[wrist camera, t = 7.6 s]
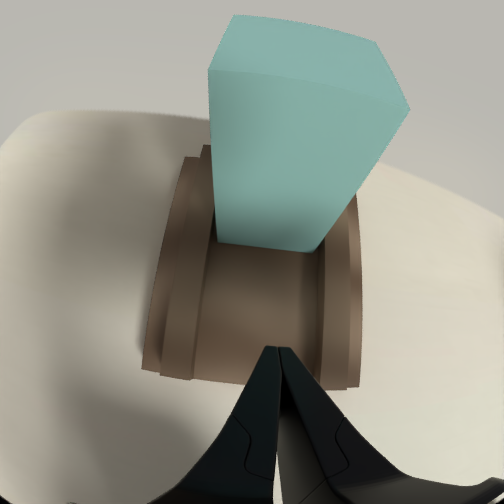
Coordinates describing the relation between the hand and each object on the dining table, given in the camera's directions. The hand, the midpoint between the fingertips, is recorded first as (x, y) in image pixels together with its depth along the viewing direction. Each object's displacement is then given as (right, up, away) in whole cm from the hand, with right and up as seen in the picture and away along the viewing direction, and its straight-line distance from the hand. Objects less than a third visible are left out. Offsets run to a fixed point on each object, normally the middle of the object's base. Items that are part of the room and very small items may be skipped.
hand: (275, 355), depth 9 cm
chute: (0, +2, +10) cm, 10 cm away
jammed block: (0, +6, +10) cm, 11 cm away
